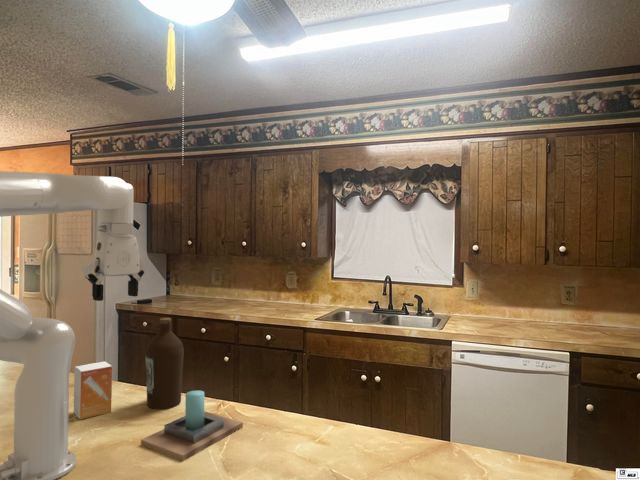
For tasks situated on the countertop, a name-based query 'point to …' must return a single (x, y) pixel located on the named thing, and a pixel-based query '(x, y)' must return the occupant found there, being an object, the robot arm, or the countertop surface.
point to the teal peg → (194, 410)
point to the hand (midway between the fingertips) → (116, 298)
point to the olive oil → (164, 368)
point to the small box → (92, 389)
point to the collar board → (190, 436)
